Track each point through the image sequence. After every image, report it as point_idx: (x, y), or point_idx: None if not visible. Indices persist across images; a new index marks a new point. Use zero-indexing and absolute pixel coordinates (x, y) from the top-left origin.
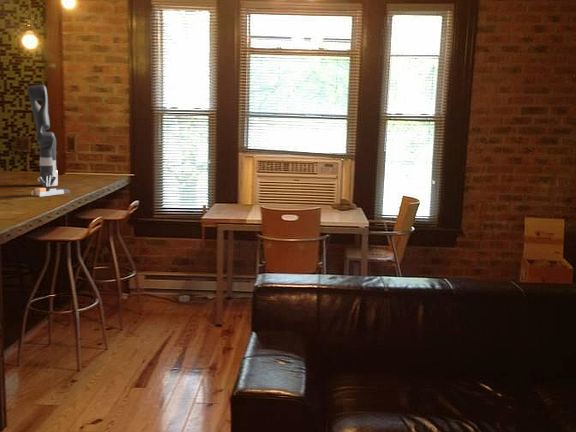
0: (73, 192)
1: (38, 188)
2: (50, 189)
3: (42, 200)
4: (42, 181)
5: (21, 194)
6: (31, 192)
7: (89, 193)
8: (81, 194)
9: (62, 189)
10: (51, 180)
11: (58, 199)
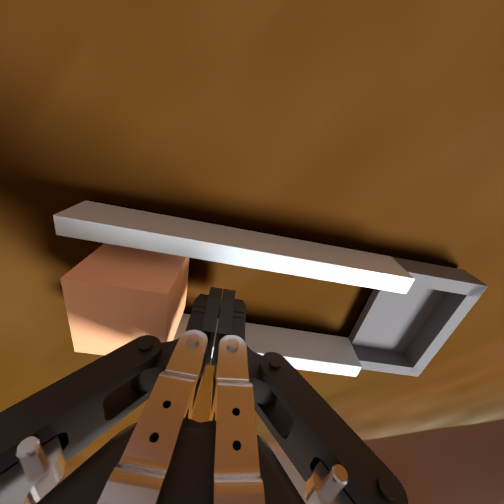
0: (448, 350)
1: (77, 325)
2: (327, 278)
3: (25, 392)
4: (73, 443)
5: (39, 12)
6: (64, 213)
7: (431, 426)
8: (371, 417)
9: (453, 306)
10: (294, 442)
11: (129, 424)
